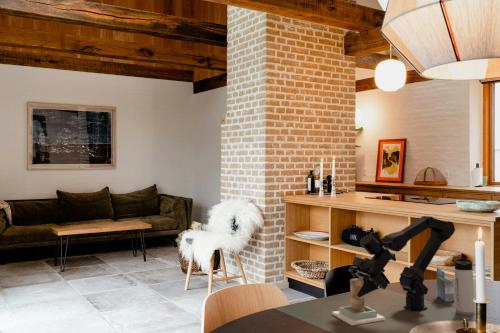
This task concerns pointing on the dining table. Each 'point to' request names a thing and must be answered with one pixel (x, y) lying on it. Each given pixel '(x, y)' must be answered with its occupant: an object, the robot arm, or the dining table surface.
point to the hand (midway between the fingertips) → (354, 294)
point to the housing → (357, 315)
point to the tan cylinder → (356, 301)
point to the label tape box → (444, 287)
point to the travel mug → (464, 287)
